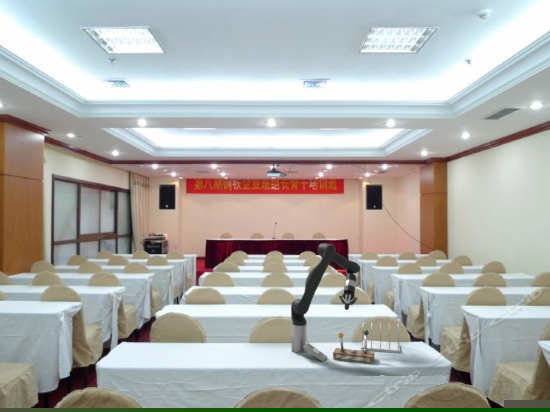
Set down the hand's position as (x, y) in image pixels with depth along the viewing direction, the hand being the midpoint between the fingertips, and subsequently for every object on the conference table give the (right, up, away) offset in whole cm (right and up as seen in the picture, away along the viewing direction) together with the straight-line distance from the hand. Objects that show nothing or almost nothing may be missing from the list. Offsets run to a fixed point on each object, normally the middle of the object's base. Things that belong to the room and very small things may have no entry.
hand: (346, 309), depth 275 cm
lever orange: (-6, -21, -19) cm, 29 cm away
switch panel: (+1, -25, -22) cm, 33 cm away
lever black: (+7, -21, -24) cm, 33 cm away
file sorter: (+23, -27, +1) cm, 35 cm away
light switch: (-23, -25, -21) cm, 40 cm away
